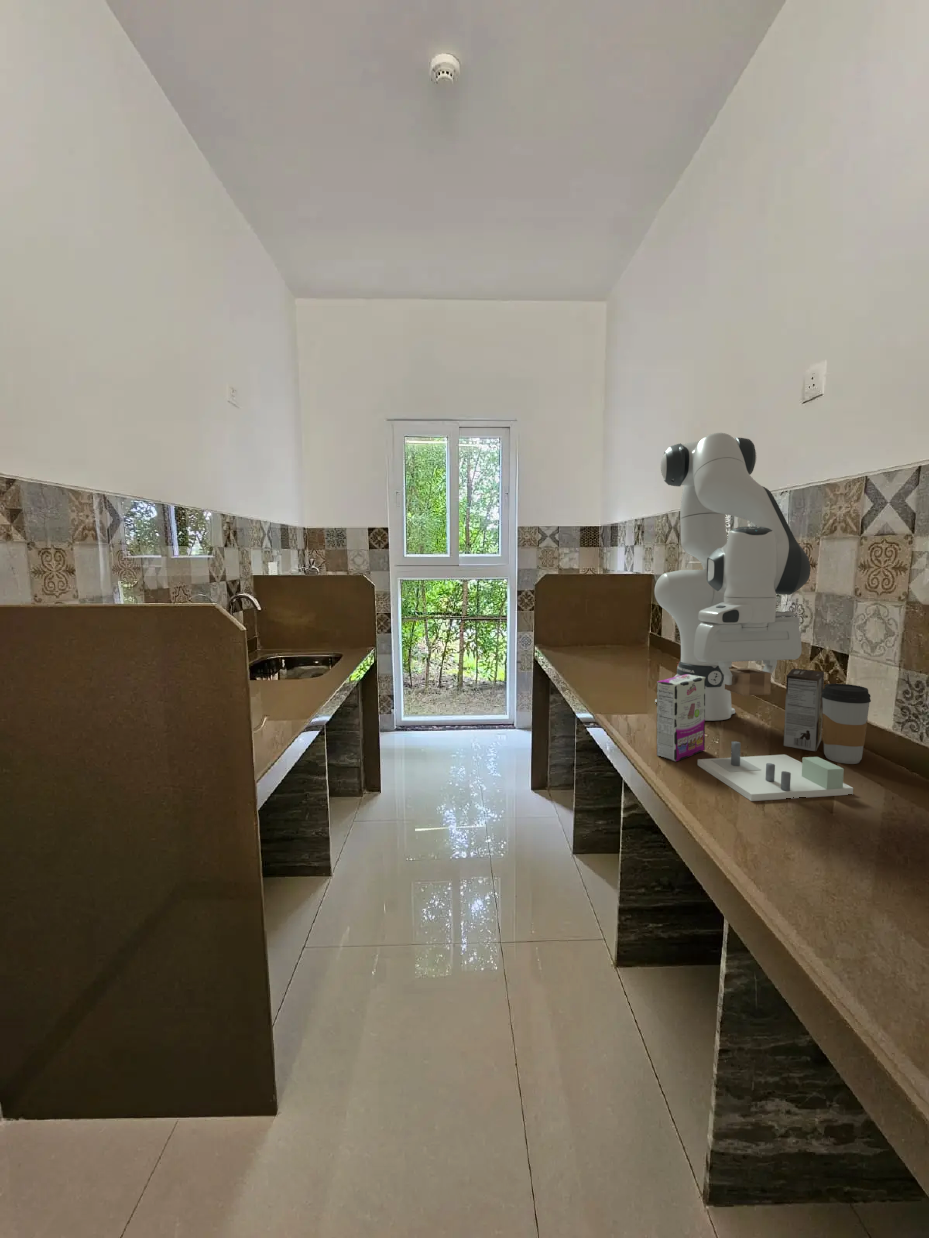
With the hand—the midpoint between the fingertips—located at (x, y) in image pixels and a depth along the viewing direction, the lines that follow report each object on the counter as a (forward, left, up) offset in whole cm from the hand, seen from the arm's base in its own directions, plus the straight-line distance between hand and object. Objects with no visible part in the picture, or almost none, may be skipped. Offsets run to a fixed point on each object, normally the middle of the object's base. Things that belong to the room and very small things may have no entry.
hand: (746, 683), depth 104 cm
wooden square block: (0, 0, -2) cm, 2 cm away
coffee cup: (-3, +24, -18) cm, 30 cm away
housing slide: (+10, +8, -16) cm, 21 cm away
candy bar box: (-11, -7, -18) cm, 22 cm away
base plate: (+4, +2, -17) cm, 18 cm away
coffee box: (-13, +23, -18) cm, 32 cm away
